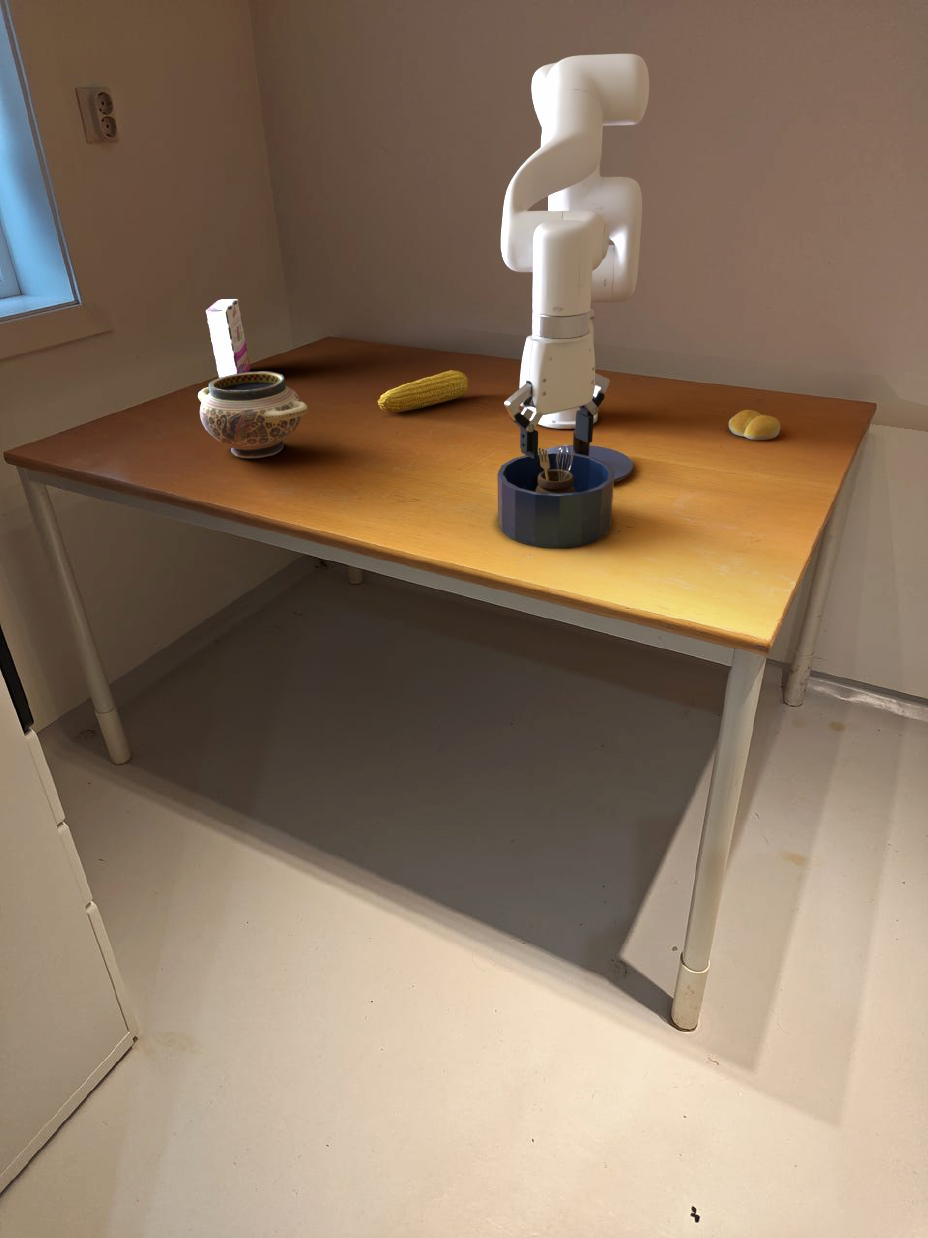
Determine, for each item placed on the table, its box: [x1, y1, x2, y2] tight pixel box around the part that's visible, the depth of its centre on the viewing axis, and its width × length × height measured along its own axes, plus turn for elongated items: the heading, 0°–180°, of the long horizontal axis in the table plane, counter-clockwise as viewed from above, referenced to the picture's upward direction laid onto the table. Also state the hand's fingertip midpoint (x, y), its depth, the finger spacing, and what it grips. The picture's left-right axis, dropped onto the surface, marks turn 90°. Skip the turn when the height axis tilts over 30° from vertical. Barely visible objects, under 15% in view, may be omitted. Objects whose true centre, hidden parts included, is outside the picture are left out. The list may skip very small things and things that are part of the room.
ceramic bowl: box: [197, 370, 309, 459], centre depth 152 cm, size 24×18×15 cm
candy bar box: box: [205, 298, 251, 378], centre depth 193 cm, size 11×5×16 cm, turn 179°
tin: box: [496, 452, 615, 549], centre depth 123 cm, size 17×17×8 cm
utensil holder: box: [535, 444, 575, 494], centre depth 122 cm, size 6×6×12 cm
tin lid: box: [538, 429, 634, 483], centre depth 141 cm, size 18×18×7 cm
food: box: [377, 369, 469, 413], centre depth 173 cm, size 21×6×6 cm, turn 127°
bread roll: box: [728, 409, 781, 441], centre depth 155 cm, size 8×9×4 cm
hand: (556, 447), depth 120 cm, fingers open, 9 cm apart
